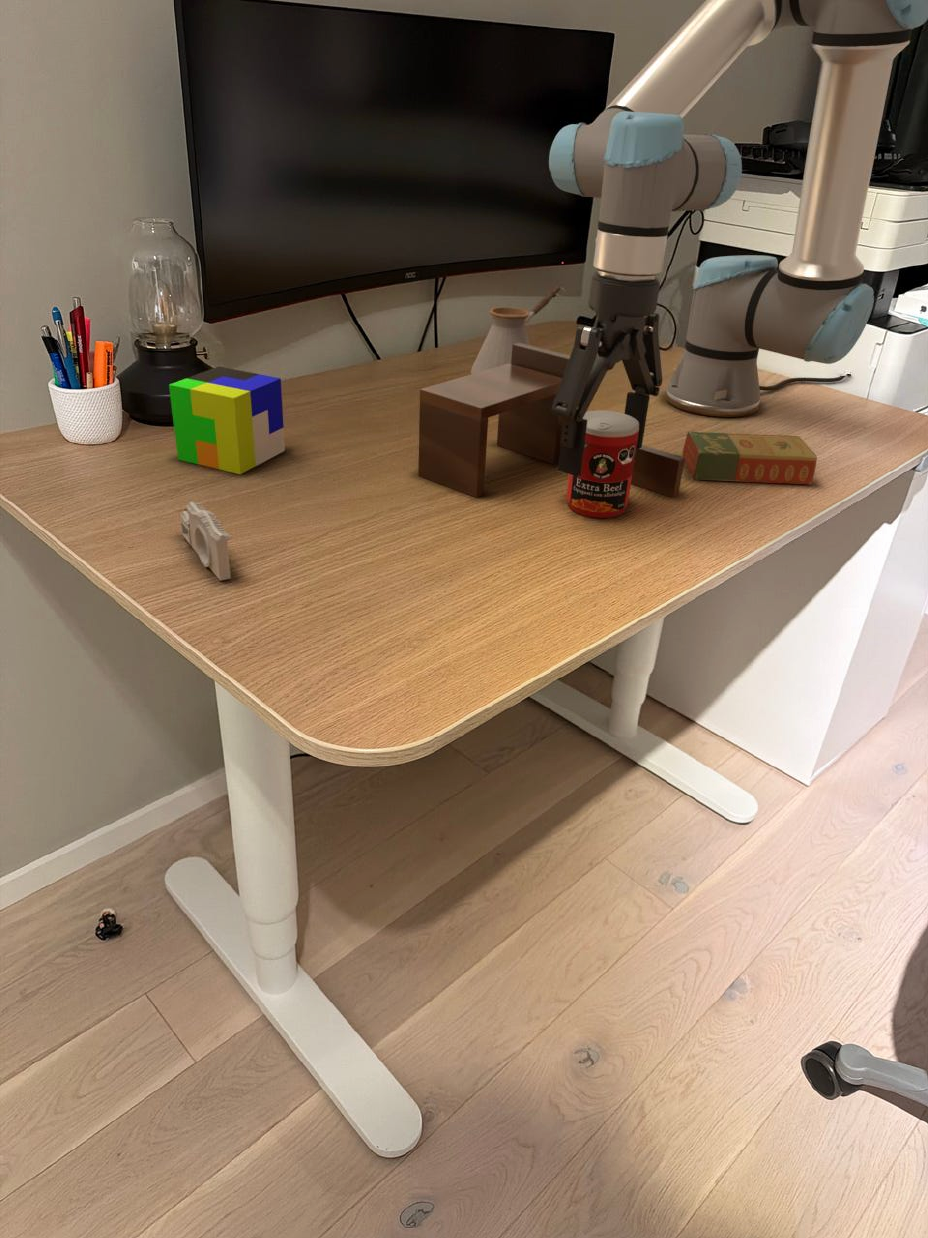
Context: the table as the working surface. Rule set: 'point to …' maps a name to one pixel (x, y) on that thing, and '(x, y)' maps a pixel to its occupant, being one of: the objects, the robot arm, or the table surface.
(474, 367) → the coffee pot
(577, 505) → the canned food
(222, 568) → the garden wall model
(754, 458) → the carton
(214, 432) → the puzzle toy
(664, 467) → the step shelf
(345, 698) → the table surface
